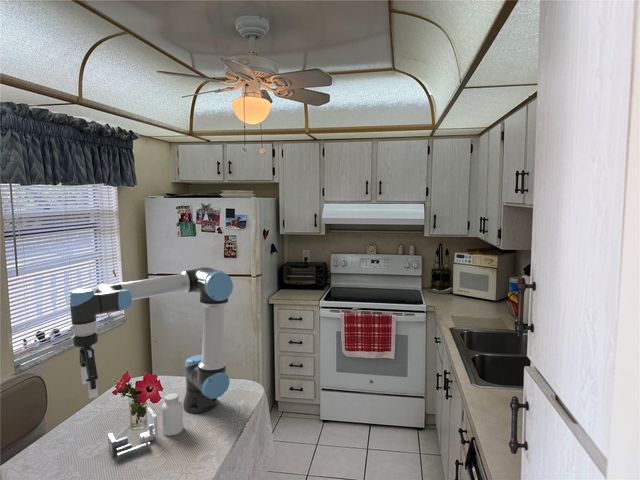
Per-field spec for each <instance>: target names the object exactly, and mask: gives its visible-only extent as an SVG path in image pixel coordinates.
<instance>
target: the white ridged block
mask: <svg viewBox="0 0 640 480" xmlns="http://www.w3.org/2000/svg"><path fill="white" fill-rule="evenodd" d="M107 442H108V444H107V445H108V451H109V453H110V456H111V457H112V458H117V459H116V460H117V461H118V462H120V461H123V460H125V459H128V458H131V457H134V456H137V455H138V454H142V453H144V452H146V451H149V450H151V449H152V448H151V446H152V445H151V442H150V441H148V444H147V445H146V443H141V444H140V445H137V446H134V447H133V445H132V443H129V438H128V436H125V437H122V438H119V439H116V438H115V436H114V433H113V432H109V433H107Z"/></svg>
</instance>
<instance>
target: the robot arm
mask: <svg viewBox="0 0 640 480" xmlns="http://www.w3.org/2000/svg"><path fill="white" fill-rule="evenodd" d="M233 289H234V284H233V280H232V278H231V277H230V275H228V274H227V273H226V272H224V271H221V270H219V269H215V268H212V267H200V268H194V269H188V270H183V271H182V272H181V273H178V274H172V275H165V276H158V277H153V278H152V277H151V278H145V279H140V280H134V281H133V280H132V281H124V282H120V283H112V284H109V283H102V284H99V285H97V286H96V288H95V289H93V288H82V289H81V288H80V289H76V290H73V291H71V292H70V295H69V307H70V316H71V317H70V318H71V325H72V326H70V327H69V328H70V330H72V335H73V337H72V340H73V341H72V342H73V346H74V347H76V348H79V364H80V372H81V382H82V385H86V384H87V389H88V390H87V391H88V398H89V399H90V400H91V399H94V398H97V397H99V389H98V388H99V387H98V379H99V376H98V371H97V370H98V369H97V363H96V358H95V349H94V348H93V345H95V344H97V343H98V341H99V340H98V339H99V338H98V323H97V321H98V320H97V315H98V316H99V315H102V314H109V313H115V312H122V311H125V310H129V309H130V308H131V307H132V305H133V301H135V300H140V299H141V300H142V299H146V298H152V297H157V296H163V295H168V294H169V295H170V294H175V293H181V292H184V293H187V294H189V293H199V303H200V304H201V305H202V306H203V313H202V314H203V317H202V318H203V319H202V348H201V349H202V351H201V354H196V355H193V356H190V357H188V358H187V359H186V360H185V366H184V368H185V381H186V382H185V383H186V386H185V387H186V391H185V394H184V399H183V402H182V410H184V411H185V412H187V413H190V414H202V413H205V412H209V411H211V410H213V409H214V408H215V407H217V405H218V398H221V396H222V395H224V394H225V392H227V391H228V389H229V387H230V383H231V380H230V377H229V375H228V374H227V373H226V372H227V368H226V367H227V363H226V361H224V359H223V354H224V353H223V350H224V324H225V323H224V322H225V306H226V305H228V303H229V297H230V295H232V293H233V291H234V290H233Z"/></svg>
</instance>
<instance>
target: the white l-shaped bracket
mask: <svg viewBox="0 0 640 480" xmlns="http://www.w3.org/2000/svg"><path fill="white" fill-rule="evenodd" d="M146 413H147V414H146V416H147V417H146V418H147V428H148V430H146V431H145V432H141V433H139V435H138V436H139V440H140V441H141V444H145V443H146V445H147V444H148V442H150V441H153V440H154V437H157V436H159V431H158V430H159V429H158V416H157V414H156V413H155V412H154V409H152V408H151V406H148V407H146Z"/></svg>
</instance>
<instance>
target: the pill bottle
mask: <svg viewBox="0 0 640 480" xmlns="http://www.w3.org/2000/svg"><path fill="white" fill-rule="evenodd" d="M183 410H184V409H183V402H182V401H181V400H180V398H179V394H178V393H174V392H173V393H172V392H171V393H169V394H166V395H165V396H164V402H163V403H162V406H161V419H162V422H161V423H162V432H163V434H164V435H165V436H168V437H170V436H175V435H178V434H180V433H182V432H183V430H184V416H183V415H184V414H183V413H184V412H183Z"/></svg>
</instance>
